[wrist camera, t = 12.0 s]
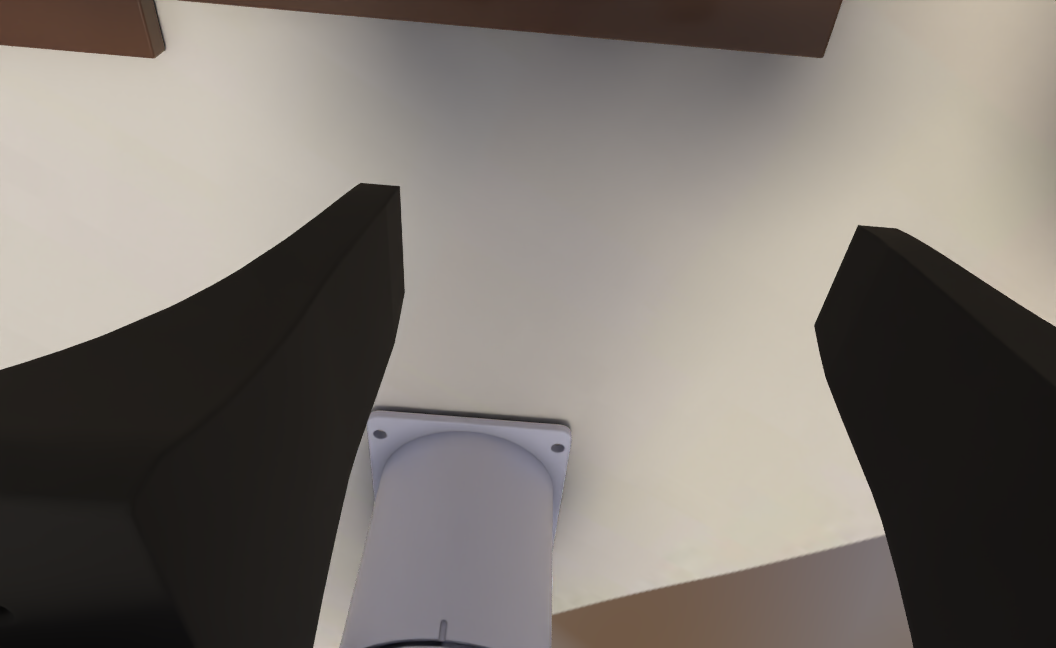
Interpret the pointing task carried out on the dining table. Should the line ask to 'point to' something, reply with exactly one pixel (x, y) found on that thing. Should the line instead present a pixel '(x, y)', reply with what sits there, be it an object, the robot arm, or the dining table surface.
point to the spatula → (455, 21)
